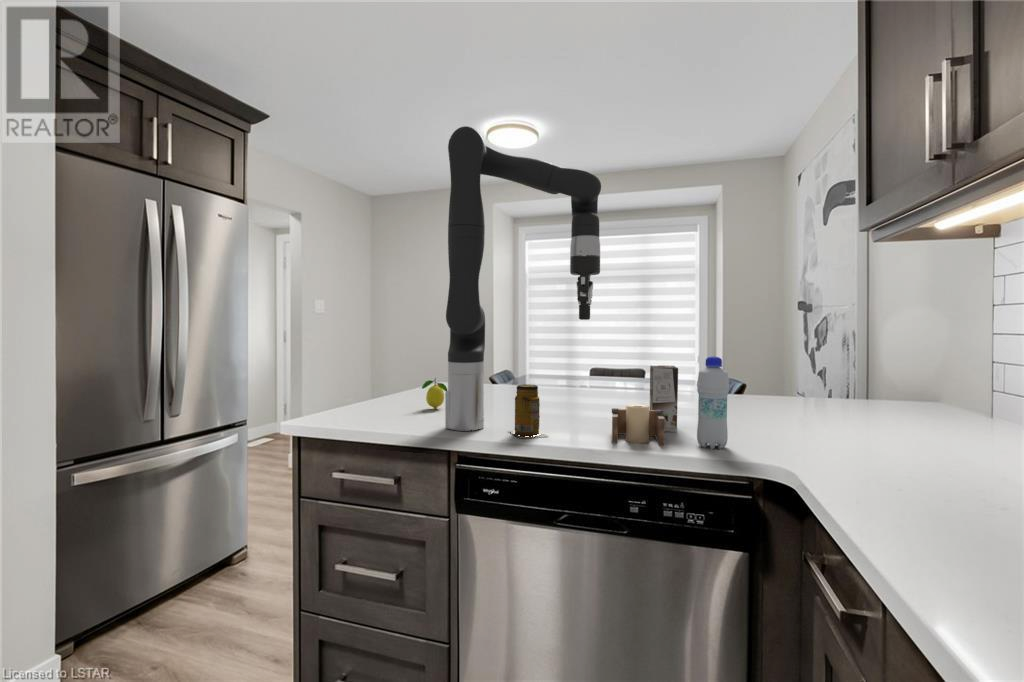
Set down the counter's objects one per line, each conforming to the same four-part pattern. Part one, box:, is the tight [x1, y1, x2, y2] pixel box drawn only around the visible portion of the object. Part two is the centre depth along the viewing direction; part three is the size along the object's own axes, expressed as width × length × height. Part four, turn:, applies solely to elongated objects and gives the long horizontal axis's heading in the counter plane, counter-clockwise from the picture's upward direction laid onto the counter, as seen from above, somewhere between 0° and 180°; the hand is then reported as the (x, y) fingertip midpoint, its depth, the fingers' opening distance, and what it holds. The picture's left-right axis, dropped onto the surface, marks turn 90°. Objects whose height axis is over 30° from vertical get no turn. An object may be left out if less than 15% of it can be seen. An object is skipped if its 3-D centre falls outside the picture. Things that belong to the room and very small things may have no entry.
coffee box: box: [649, 365, 679, 433], centre depth 131 cm, size 9×6×16 cm
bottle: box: [696, 355, 730, 450], centre depth 111 cm, size 7×7×20 cm
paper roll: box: [625, 404, 650, 444], centre depth 117 cm, size 5×5×8 cm
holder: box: [611, 407, 665, 447], centre depth 119 cm, size 12×11×7 cm
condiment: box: [508, 383, 549, 439], centre depth 123 cm, size 7×8×12 cm
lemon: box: [421, 377, 448, 410], centre depth 159 cm, size 7×6×10 cm
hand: (584, 319), depth 128 cm, fingers open, 8 cm apart
